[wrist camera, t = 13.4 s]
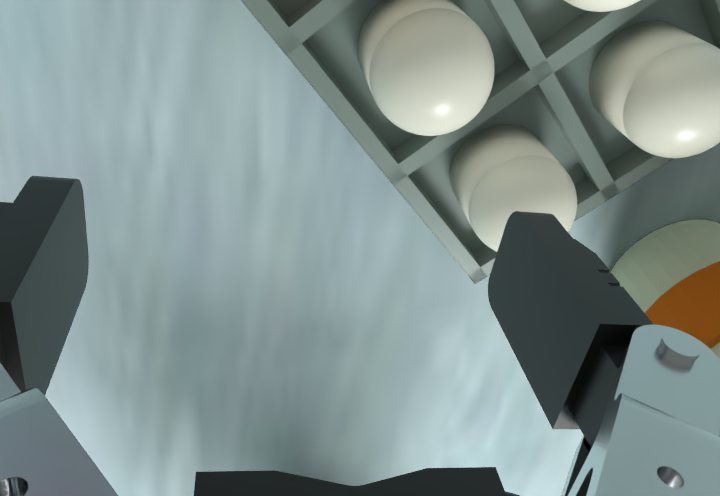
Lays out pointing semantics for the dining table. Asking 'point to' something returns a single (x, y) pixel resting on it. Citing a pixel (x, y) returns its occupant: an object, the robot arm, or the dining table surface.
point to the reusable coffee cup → (677, 278)
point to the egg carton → (509, 99)
